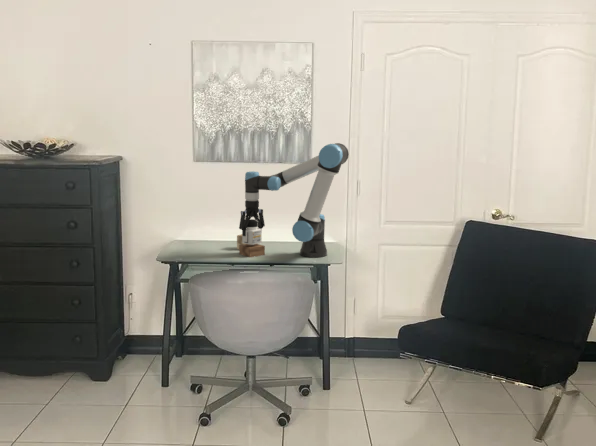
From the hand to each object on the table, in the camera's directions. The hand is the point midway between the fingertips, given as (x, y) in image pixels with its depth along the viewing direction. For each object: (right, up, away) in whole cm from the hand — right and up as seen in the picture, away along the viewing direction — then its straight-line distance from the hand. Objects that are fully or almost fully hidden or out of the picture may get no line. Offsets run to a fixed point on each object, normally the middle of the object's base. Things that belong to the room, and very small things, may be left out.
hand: (252, 240), depth 352 cm
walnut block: (0, -8, +1) cm, 8 cm away
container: (0, -2, 0) cm, 2 cm away
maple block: (-6, -5, +15) cm, 17 cm away
